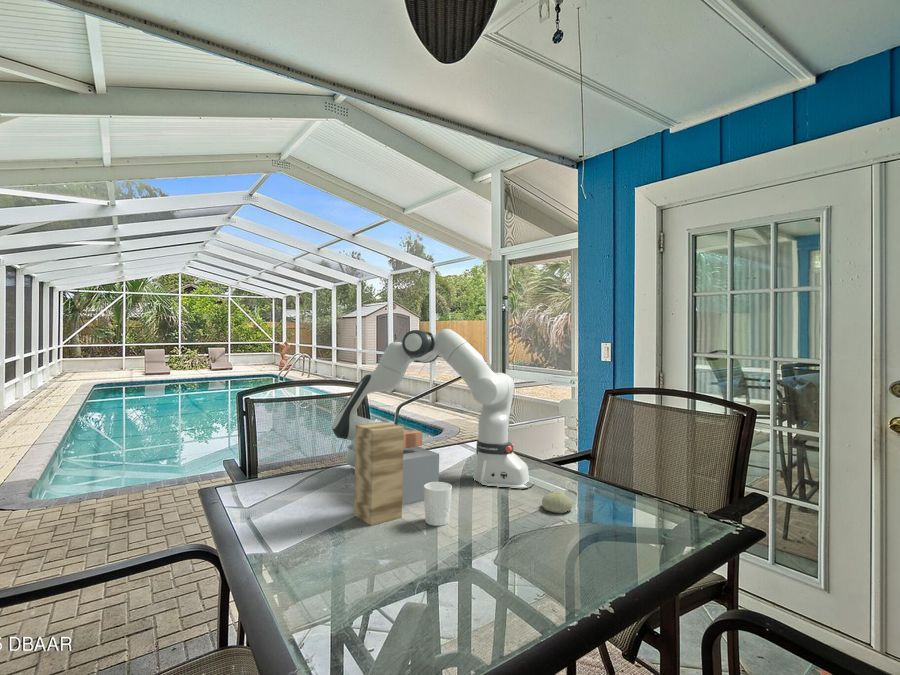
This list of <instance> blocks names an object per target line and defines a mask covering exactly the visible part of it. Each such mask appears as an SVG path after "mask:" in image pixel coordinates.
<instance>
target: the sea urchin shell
mask: <svg viewBox="0 0 900 675" xmlns="http://www.w3.org/2000/svg"><path fill="white" fill-rule="evenodd" d="M541 502H542V503H541V506H542V507H543V509H544V510H545V511H548V512H550V513H555V514H565V512H566V513H568V512H570V511H571V510H572V508H573V502H572V499H571V498H570V497H569V496H568V495H567V494H565V493H564V492H561V491H552V492H547V493H546V494H545V495H544V496H543V498H542V499H541ZM567 511H568V512H567Z"/></svg>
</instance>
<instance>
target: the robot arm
mask: <svg viewBox="0 0 900 675" xmlns="http://www.w3.org/2000/svg"><path fill="white" fill-rule="evenodd" d="M439 356H440V357H441V358H442V359H443V360H444V361H445V362H446V363H447V364H448V365H449V366H450V367H451V368H452V369H453V370H454V371H455V372H456V373H457V374H458V375H459V376H460V377H461V378H462V380H463V381H464V382H465V383H466V385H467V387H468V389H469V390H470V391H471V395H472V397H473V399H474V400H475V401H476V402H477V403H479V404H481V405H482V407H481V411H480V415H479V417H478V425H477V426H478V428H477V429H478V432H477V433H478V434H477V435H478V436H477V441H476V449H475V450H476V464H475V467H474V472H473V476H472V479H473V478H474V479H475V480H476V481H478V482H480V483H481V484H482V485H490V486H497V487H496V488H499V487H518V488H519V487H527V486H526V485H524V484H526V483H527V482H528V481H529V476H530V474H529V473H530V472H529V467H528V465H527V463H526V462H525V461H524V460H522V459H521V458H520V457H519V456H518V455H517V454H515V452H514V447H515V444H514V443H511V442H510V441H509V426H510V425H509V423H510V422H509V421H510V414H511V408H512V403H513V397H514V396H513V395H514V391H515V386H516V385H515V382H514V380H513V378H512V377H511V376H510V375H509V374H506V373H504V372H494V371H493V370H492V369H491V368H490V366H489V365H488V363H486V361H485V359H484V357H483V355H482V354H481V353H480V352H479V351H478V350H476V348H475V347H473V345H471V344H470V342H468V341H467V340H466V338H464V337H463V336H461V335H460V334H458V332H456V331H454V330H453V329H450V328H444V329H441V330H439V331H438V332H437V333H436V334H434V335H433V333H432V332H429V331H425V330H420V329H412V330H410V331H408V332H406V333H405V334H404V336H403V338H402V341H392V342H391V343H389V344H388V346H386V349H385V350H384V351H383V354H382V356H381V357H380V359H379V362H378V364H377V366H376V367H375V369H374V370H373V371H371V373H369V374H366V375H364V376H363V377H362V379H361V380H360V381H359V382H358V384H357V385H356V387H355V388H354V390H353V391H352V393H351V395H350V396H349V398H348V399H347V401H346V402H345V405H344V406H343V407H342V409H341V410H340V411H339V412H338V414H337V415H336V417H335V418H334V419H333V422H332V426H331V430H332V433H334V435H335V437H336V438H338V439H342V440H348V441H350V442H351V444H349V445H348V446H347V449H348V450H347V452H346V453H345V458H344V459H345V461H346V463H347V464H348V465H349V466H351V467H352V468H355V435H356V425H359V424H368V423H377V422H378V421H376V420H375V421H374V420H372V419H370V418H367V417H363V416H359V415H357V414H355V413H356V411H357V410H358V408H359V407H360V405H361V403H362V402H363V400H364V398H365V397H366V396H367V395H369V394H371V393H378V392H380V393H381V392H384V393H385V392H390V391H393V390H395V389H397V388H398V387H399V386H400V385H401V383H402V381H403V379H404V377H405V375H406V371H407V370H408V367H409V365H410V364H411V363H412V362H413V363H419V364H420V363H423V364H428V363H432V362H435V361H436V360H437V358H439ZM475 480H474V481H475ZM476 481H475V482H476ZM478 482H477V483H478ZM480 483H479V484H480ZM481 484H480V485H481ZM482 485H481V486H482Z"/></svg>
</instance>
